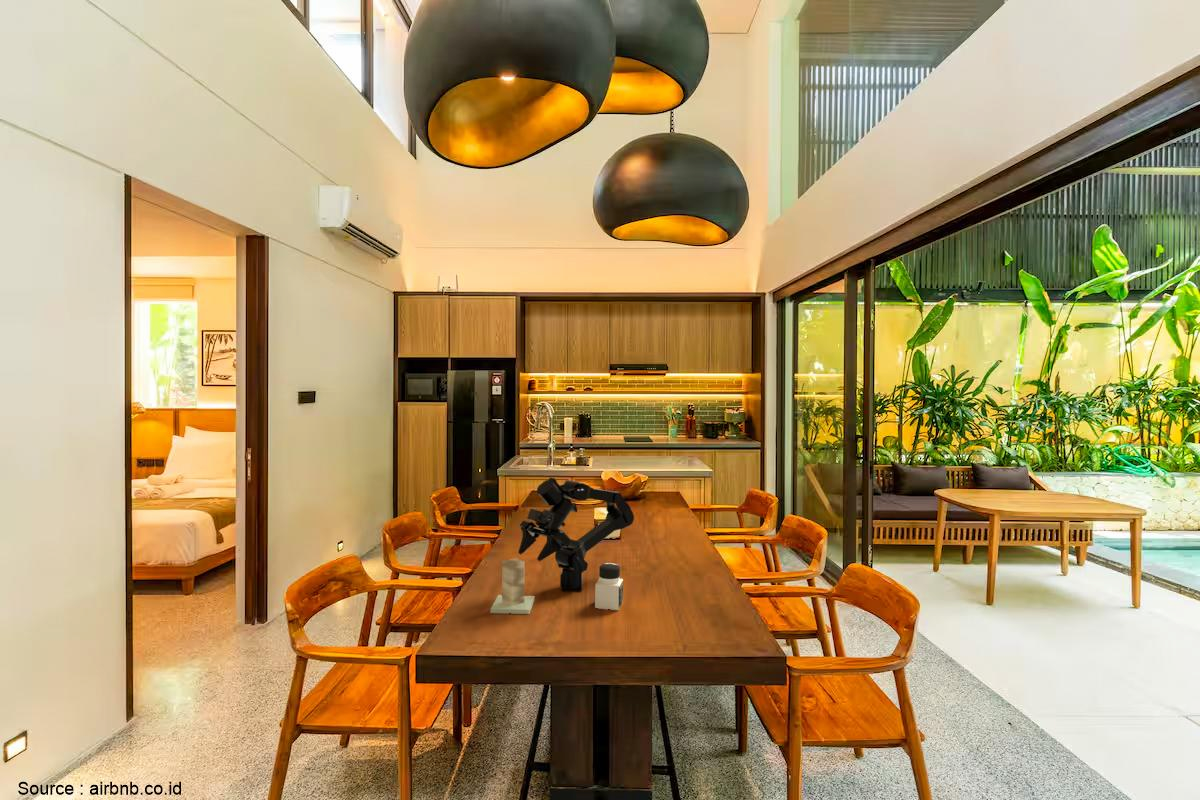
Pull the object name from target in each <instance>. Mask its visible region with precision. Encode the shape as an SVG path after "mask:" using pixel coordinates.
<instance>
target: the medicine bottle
mask: <svg viewBox="0 0 1200 800" xmlns="http://www.w3.org/2000/svg"><path fill="white" fill-rule="evenodd" d="M620 570H621V567H620V566H619V564H616V563H613V562H606V563H605V562H604V563H602V564H601V565H599V570H598V571H599V574H598V575H599V577H598V578H599V579H598V580H597V582H596V583H595V585H594V586H595V587H594V588H595V592H594V593H595V594H594V595H595V596H594V601H595V602H594V608H595V609H596V608H598V610H608V609H610V610H609V611H611V610H612V611H620V609H621V606H622V605H623V602H624V579H623V578H620V577H621V571H620Z"/></svg>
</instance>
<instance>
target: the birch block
mask: <svg viewBox="0 0 1200 800" xmlns="http://www.w3.org/2000/svg"><path fill="white" fill-rule="evenodd" d="M525 564H526V563H525V561H524V560H521V559H519V558H517V557H514V558H510V559H506V560H502V569H501V571H502V574H501V579H502V582H501V584H502V585H501V595H502V602H503V603H505V604H507V605H510V606H514V605H518V604H521V603H524V596H525V582H526V581H525V577H526V576H525V574H526V573H525V570H526V566H525Z"/></svg>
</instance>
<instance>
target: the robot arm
mask: <svg viewBox="0 0 1200 800" xmlns="http://www.w3.org/2000/svg"><path fill="white" fill-rule="evenodd" d="M536 493H537V494H538V496H539V497H540V498H542V500H543V501H544V502H545V504H546V505H548V506H551V507H550V509H549V510H548V509H543V510H542V511H541V510H537V509H534V508H530V510H529V511H528V513H527V517H526V520H522V521H521V523H520V524H519V525H518V527H519V528H520V530H521V533H522V538H521V542H520V546H519V548H518V551H517V552H518V554H519V555H522V554H524V553H525V552H526V550H528V549H530V547H531V546H533V544H534V543H536V541H537V539H538V538H539V537H540V536H542V537H545V538H546V542H545V544H544V546H543V547H542V549H541V551H540V553H539V554H538V556H537V558H536V559H537V561H538V562H541V561H543V560H544V559H545V558H547V557H549V556H551V555H553V554H554V559H555V562H556V563H557V566H558V568H561V569H562V570H561V573H560V575H559V577H560V580H559V585H560V586H559V587H560V588H561V590H560V591H562V592H582V591H583V587H584V586H583V585H584V583H583V573H584V572H585V571H587V570H588V566H589V564H588V562H587V561H586V560H585V558H586V554H587V552H588V551H590V550H591V549H593V548H594V547H595V546H596V545H598V544H599V543H601V541H604V539H606V538H607V537H608V536H610V535H612V533H614V532H616V531H618V530H623V529H626V528H628V527H630V526H631V525H632V524H633V523H634V519H635V516H634V515H635V514H634V512H633V511H632V508H631V506H630V505H629V504H628V502H627V501H626V500H625V499H624V497H623V496H622V494H621V493H620V492H619V491H617V490H616V491H615V490H607V489H606V490H605V489H600V488H594V487H591V486H590V485H588V484H586V483H584V482H580V481H575V480H566V481H565V482H564V483H563V484H561V485H560V483H558V481H557V480H556V478H554V477H549V478H548V479H547V480H544V481H543V482H542V483H540V484H539V485H538V487H537V488H536ZM572 500H575V501H580V502H581V501H587V500H596V501H602V502H606V507H605V508H606V511H607V513H606V517H605V519H604V520H603V521H601V522H600V523H598V525H596V526H594V527H593V528H592V529H590V530H589V531H588V532H586V533H585V534H584V535H582V536H581V537H580V538H578V539H577V540H574V539H571V538H570V537H569V536H568V534H566V532H565V531H564V529H560V528H561V527H565V526H566V523H565V520H566V519H567V517H568V516H569V514H570V513H571V512H574V513H578V507H577V503H576V502H572ZM530 520H532V521H530ZM534 522H535V523H534Z"/></svg>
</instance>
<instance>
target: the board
mask: <svg viewBox="0 0 1200 800" xmlns="http://www.w3.org/2000/svg"><path fill="white" fill-rule="evenodd" d="M535 599H536V597H535V595H524V603H521V604H518V605H514V606H510V605H507V604H505V603H503V602H502V594H498V595H497V597H496V599H495V600H494V601H493V603H492V606H491V607H490V611H489V612H490V613H489V614H509V613H511V614H513V615H515V614H517V615H520V614H521V615H530V612H531V611H532V608H533V605H534V603H535Z"/></svg>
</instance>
